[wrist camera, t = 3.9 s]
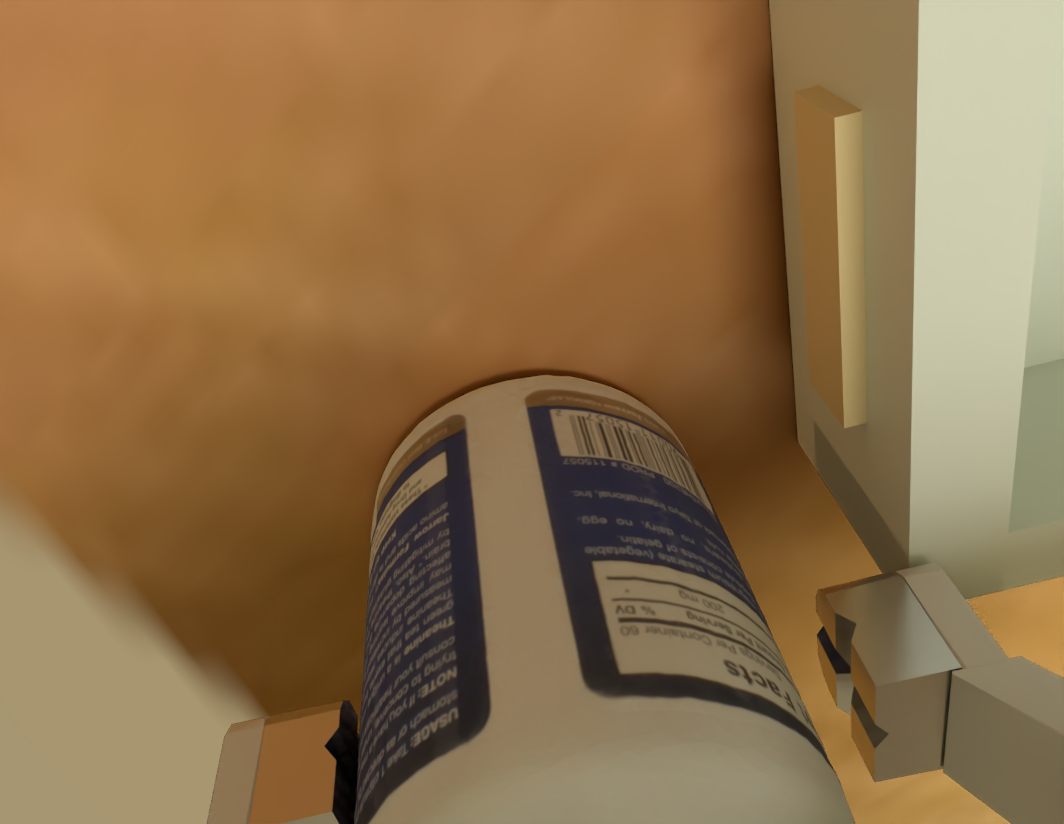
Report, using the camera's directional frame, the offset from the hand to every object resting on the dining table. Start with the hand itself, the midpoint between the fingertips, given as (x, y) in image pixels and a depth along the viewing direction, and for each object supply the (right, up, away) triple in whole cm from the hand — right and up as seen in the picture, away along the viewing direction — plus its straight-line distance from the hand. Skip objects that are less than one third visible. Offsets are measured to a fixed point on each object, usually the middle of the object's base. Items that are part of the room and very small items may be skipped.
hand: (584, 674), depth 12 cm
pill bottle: (-1, +2, +4) cm, 4 cm away
